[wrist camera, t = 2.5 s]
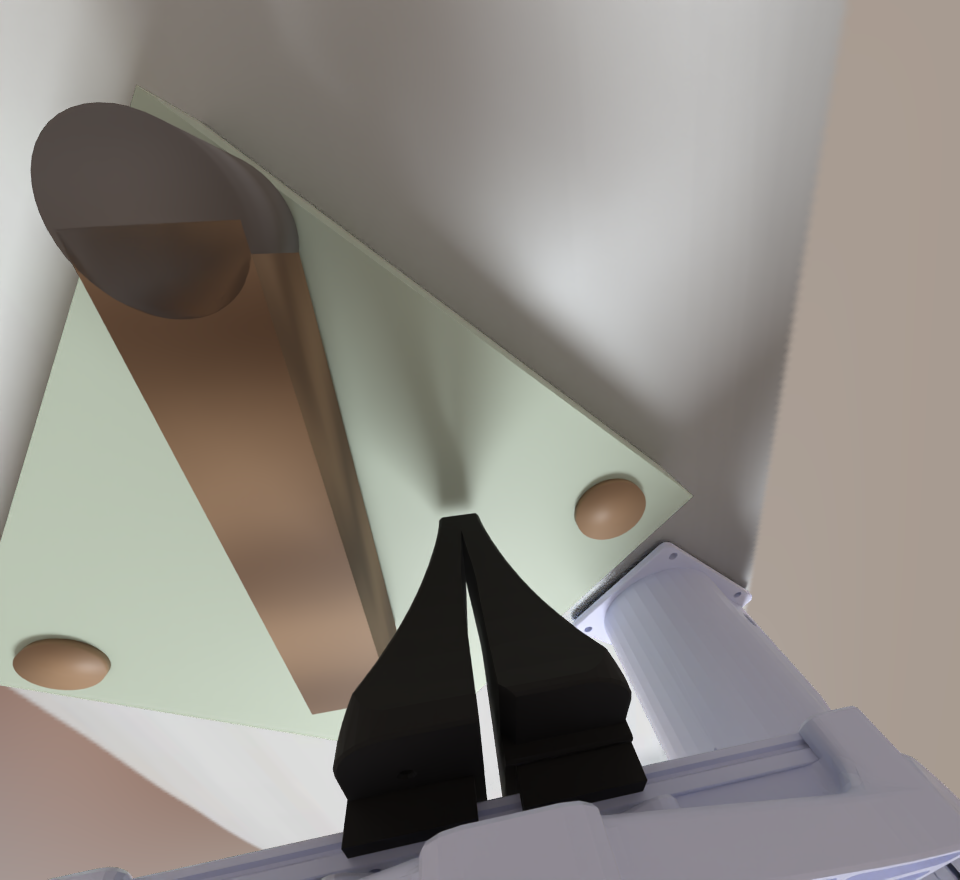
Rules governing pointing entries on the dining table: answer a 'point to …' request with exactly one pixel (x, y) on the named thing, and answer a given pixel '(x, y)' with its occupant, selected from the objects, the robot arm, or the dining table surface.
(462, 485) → the stool seat
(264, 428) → the folding leg
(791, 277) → the dining table surface
